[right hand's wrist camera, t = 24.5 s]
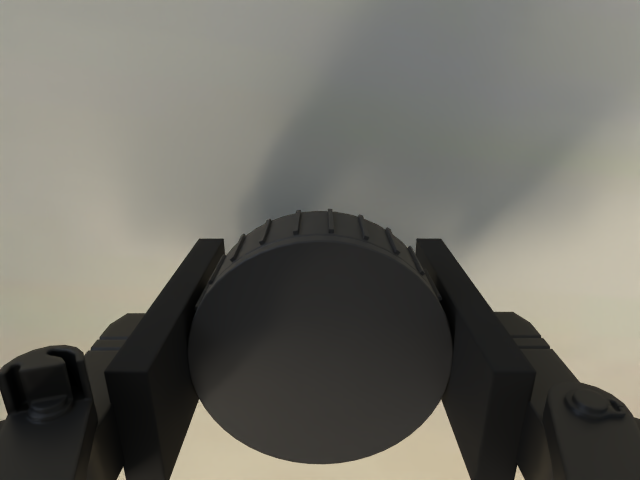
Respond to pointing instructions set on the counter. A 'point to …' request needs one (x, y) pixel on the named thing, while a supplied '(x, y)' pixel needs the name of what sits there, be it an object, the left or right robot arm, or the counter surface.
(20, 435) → the right robot arm
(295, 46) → the counter surface
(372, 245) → the lid
